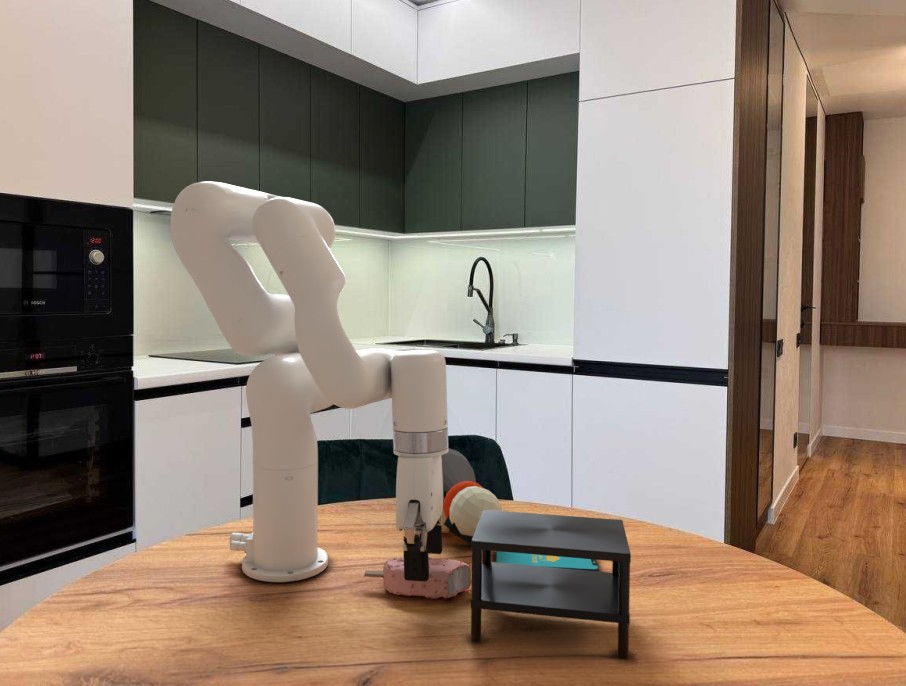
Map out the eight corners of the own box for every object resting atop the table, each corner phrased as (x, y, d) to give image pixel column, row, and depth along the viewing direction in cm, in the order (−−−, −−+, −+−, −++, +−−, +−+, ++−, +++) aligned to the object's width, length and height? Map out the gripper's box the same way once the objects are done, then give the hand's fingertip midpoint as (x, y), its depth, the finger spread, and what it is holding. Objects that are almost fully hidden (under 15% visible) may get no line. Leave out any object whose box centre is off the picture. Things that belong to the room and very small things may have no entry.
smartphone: (496, 545, 110) (593, 550, 108) (496, 550, 110) (593, 555, 108) (495, 564, 103) (599, 569, 101) (495, 569, 103) (599, 575, 101)
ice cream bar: (369, 551, 100) (472, 555, 97) (370, 580, 100) (472, 586, 97) (359, 566, 93) (468, 572, 91) (359, 598, 93) (468, 604, 91)
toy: (367, 476, 133) (421, 538, 104) (401, 416, 134) (463, 462, 106) (439, 512, 138) (508, 580, 110) (470, 455, 140) (546, 508, 112)
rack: (470, 641, 82) (471, 540, 81) (482, 597, 94) (483, 509, 93) (629, 659, 78) (630, 554, 78) (620, 611, 90) (622, 519, 89)
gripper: (408, 429, 104) (411, 542, 104) (377, 454, 87) (381, 590, 87) (457, 429, 102) (460, 545, 103) (435, 455, 85) (439, 594, 86)
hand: (424, 565), depth 95 cm, fingers open, 9 cm apart
